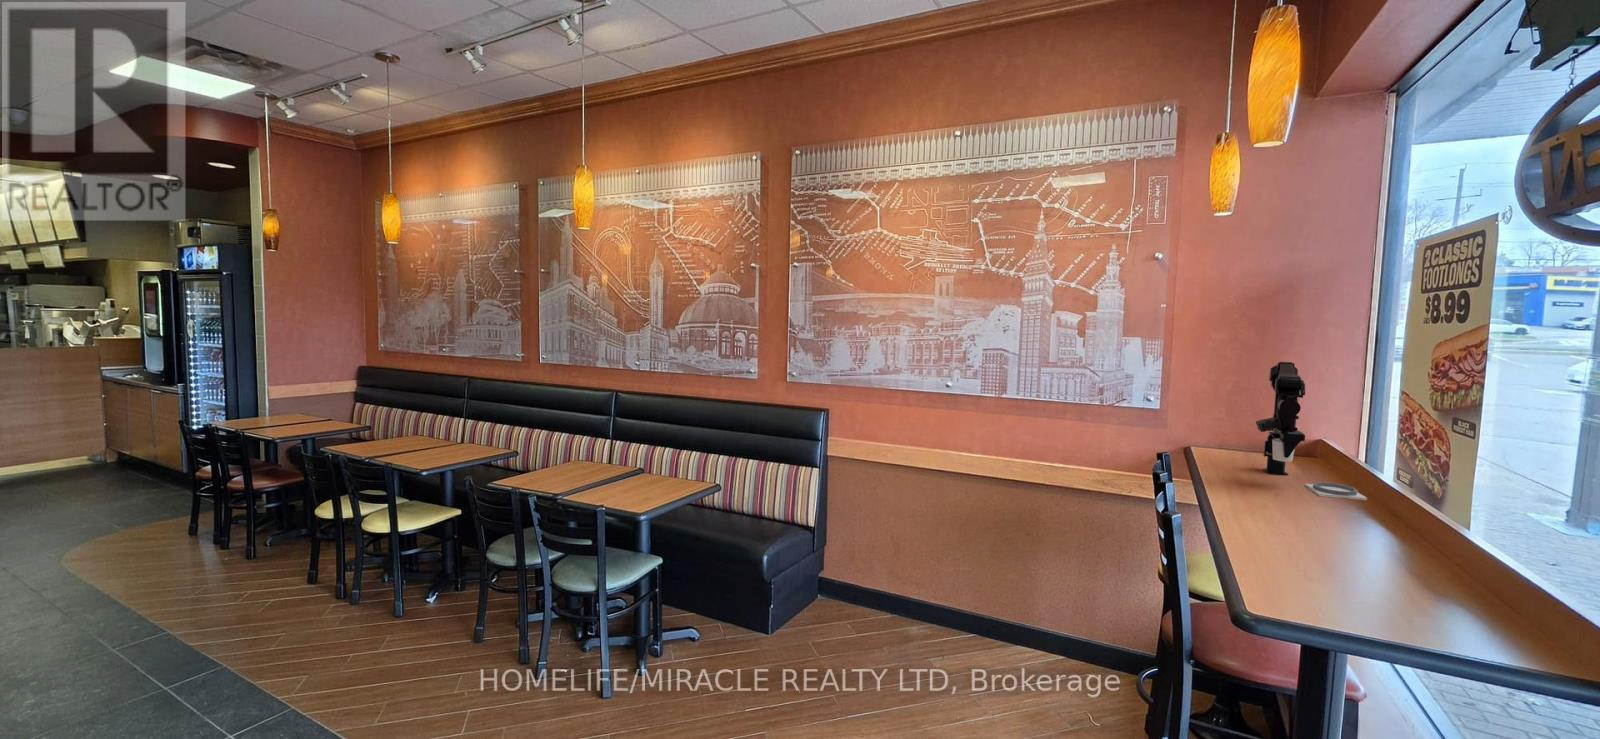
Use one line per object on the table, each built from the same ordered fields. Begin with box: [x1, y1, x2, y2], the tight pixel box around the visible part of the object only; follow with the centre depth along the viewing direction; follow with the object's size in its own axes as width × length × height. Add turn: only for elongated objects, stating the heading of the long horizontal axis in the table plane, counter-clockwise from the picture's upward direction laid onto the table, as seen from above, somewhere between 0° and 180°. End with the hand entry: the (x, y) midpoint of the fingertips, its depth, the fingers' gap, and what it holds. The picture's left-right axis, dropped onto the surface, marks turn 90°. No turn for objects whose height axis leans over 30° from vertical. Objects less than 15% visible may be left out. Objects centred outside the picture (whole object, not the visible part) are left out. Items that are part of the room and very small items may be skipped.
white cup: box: [1272, 439, 1296, 463], centre depth 232 cm, size 7×7×7 cm
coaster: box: [1304, 481, 1368, 501], centre depth 226 cm, size 13×13×2 cm
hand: (1282, 455), depth 232 cm, fingers closed on white cup, 6 cm apart
